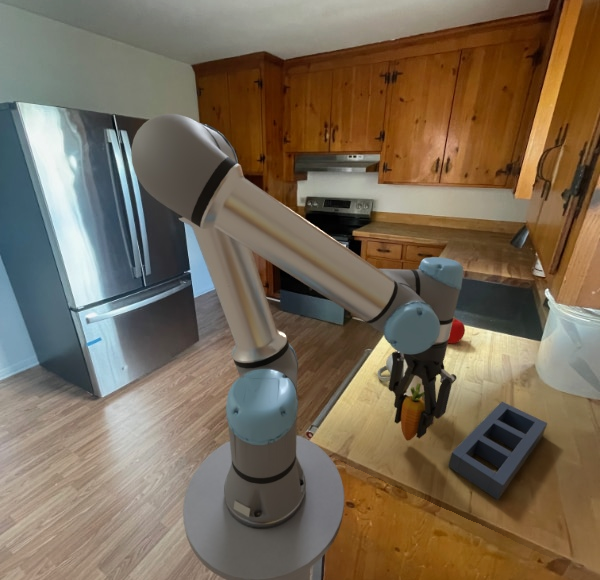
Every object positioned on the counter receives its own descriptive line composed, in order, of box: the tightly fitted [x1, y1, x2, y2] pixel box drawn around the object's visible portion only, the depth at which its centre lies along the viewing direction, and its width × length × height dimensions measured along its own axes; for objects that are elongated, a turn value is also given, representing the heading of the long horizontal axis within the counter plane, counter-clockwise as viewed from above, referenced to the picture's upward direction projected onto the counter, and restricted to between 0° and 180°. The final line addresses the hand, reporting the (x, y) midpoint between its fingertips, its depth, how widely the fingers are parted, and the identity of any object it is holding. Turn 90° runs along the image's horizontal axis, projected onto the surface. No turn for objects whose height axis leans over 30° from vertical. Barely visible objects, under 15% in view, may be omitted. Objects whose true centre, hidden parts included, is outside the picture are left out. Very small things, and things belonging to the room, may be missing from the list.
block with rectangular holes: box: [448, 401, 548, 501], centre depth 74 cm, size 10×26×4 cm, turn 130°
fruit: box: [447, 314, 466, 344], centre depth 120 cm, size 9×9×10 cm
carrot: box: [400, 383, 425, 442], centre depth 73 cm, size 5×5×15 cm
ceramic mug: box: [376, 353, 404, 383], centre depth 98 cm, size 11×8×8 cm
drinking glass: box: [403, 359, 424, 400], centre depth 88 cm, size 7×7×15 cm
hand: (409, 427), depth 74 cm, fingers closed on carrot, 5 cm apart
